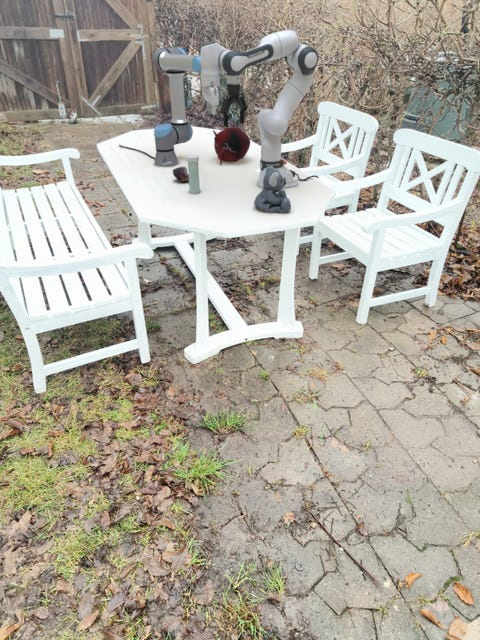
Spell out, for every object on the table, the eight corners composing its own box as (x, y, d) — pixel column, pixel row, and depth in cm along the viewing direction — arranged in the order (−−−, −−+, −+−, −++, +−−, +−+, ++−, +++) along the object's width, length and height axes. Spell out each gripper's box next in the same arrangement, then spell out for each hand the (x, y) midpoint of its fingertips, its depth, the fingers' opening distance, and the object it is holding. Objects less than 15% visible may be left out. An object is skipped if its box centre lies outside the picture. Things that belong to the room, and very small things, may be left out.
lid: (190, 158, 242) (189, 154, 241) (200, 159, 240) (200, 155, 239) (184, 161, 237) (184, 157, 236) (195, 162, 235) (195, 158, 234)
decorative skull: (211, 133, 303) (210, 130, 280) (245, 125, 303) (247, 122, 279) (218, 165, 310) (218, 165, 287) (251, 158, 309) (254, 157, 286)
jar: (192, 189, 251) (190, 155, 241) (201, 190, 249) (199, 156, 239) (188, 192, 247) (185, 158, 236) (197, 194, 245) (195, 159, 235)
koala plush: (292, 213, 220) (294, 173, 209) (255, 214, 219) (256, 174, 208) (286, 201, 234) (288, 162, 223) (252, 202, 233) (252, 164, 222)
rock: (186, 179, 270) (170, 181, 266) (185, 164, 266) (169, 166, 262) (194, 181, 261) (178, 183, 256) (192, 166, 257) (176, 168, 253)
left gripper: (222, 86, 238) (223, 129, 250) (253, 82, 253) (253, 122, 265) (212, 85, 242) (214, 127, 254) (243, 80, 257) (243, 120, 269)
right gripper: (221, 83, 208) (222, 116, 216) (212, 78, 224) (213, 108, 232) (208, 84, 207) (209, 116, 214) (200, 79, 223) (201, 109, 231)
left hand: (234, 125), depth 259 cm, fingers open, 13 cm apart
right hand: (211, 112), depth 223 cm, fingers open, 8 cm apart
